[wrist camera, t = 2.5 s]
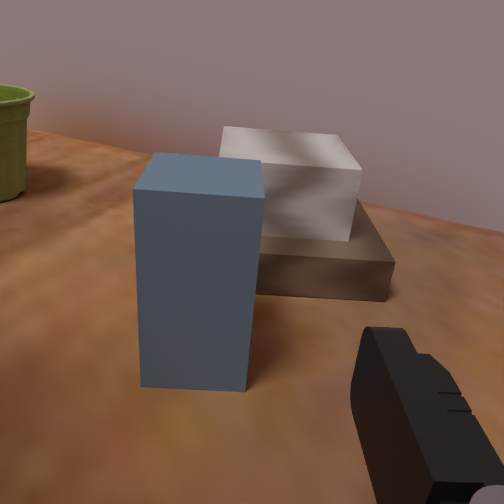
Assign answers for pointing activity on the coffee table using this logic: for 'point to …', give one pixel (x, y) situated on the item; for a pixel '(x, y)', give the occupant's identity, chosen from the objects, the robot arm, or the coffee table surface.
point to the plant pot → (13, 139)
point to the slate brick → (197, 269)
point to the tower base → (328, 265)
